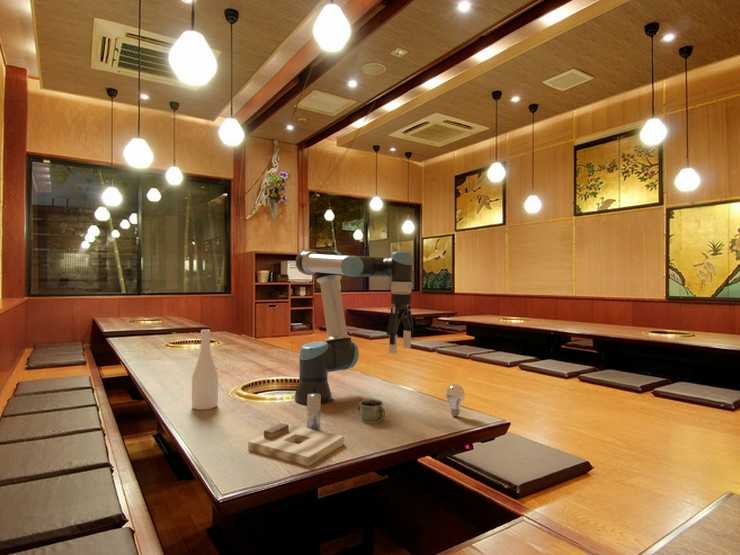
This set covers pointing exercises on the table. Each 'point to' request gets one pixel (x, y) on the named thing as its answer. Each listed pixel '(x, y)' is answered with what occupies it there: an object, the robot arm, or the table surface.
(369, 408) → the vessel
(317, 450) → the jig
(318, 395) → the shiny metal cylinder
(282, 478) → the table surface
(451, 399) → the light bulb
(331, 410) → the table surface
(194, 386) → the wine bottle
